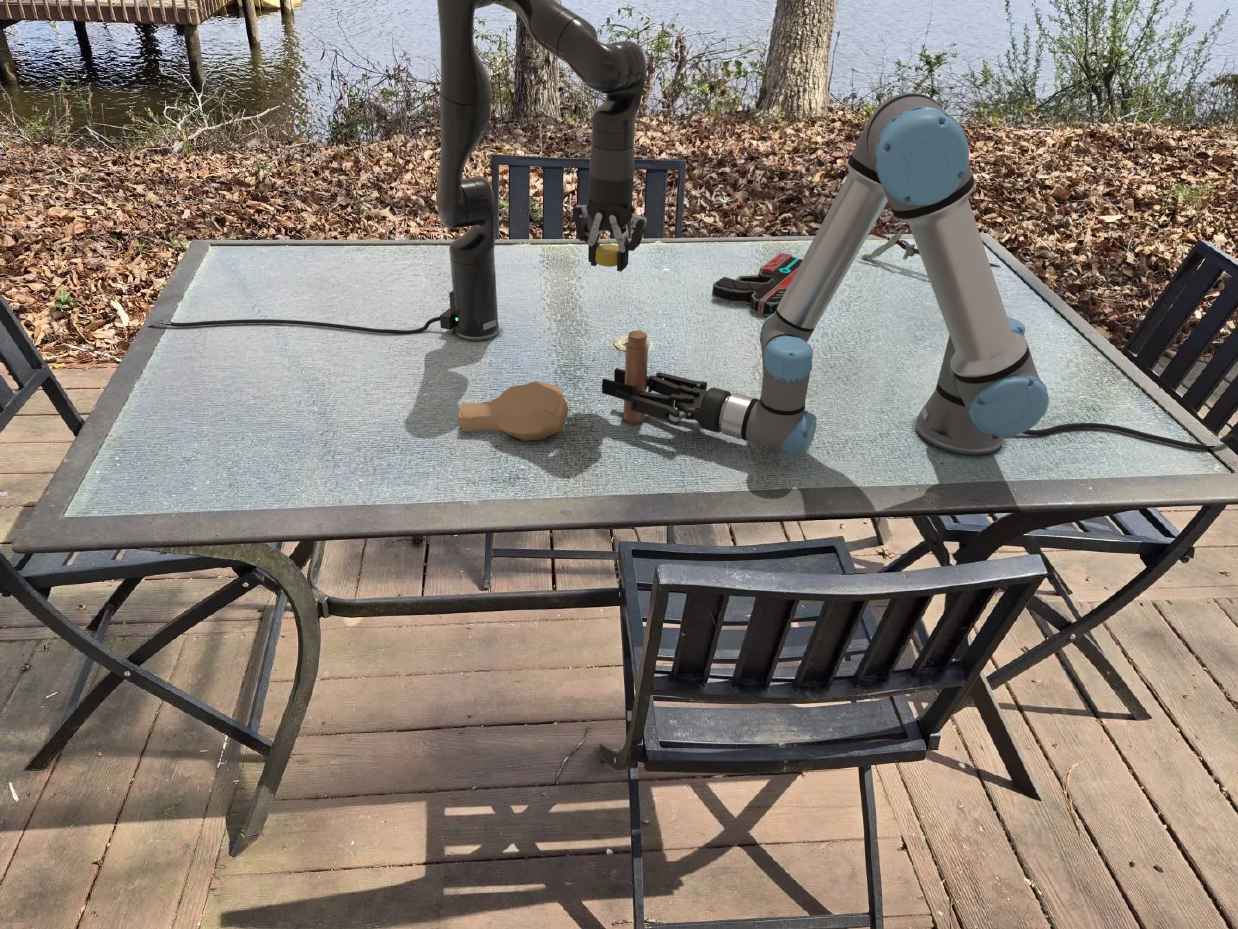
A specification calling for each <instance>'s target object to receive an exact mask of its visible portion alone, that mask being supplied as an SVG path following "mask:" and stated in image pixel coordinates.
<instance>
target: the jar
mask: <svg viewBox="0 0 1238 929" xmlns="http://www.w3.org/2000/svg"><path fill="white" fill-rule="evenodd" d="M627 338H628V339H627V340H628V341H627V342H626V344H625V361H624V364H625V365H624V370H625V384H626V385H630V386H633V387H637V391H644V392H647V390H646V384H647V376H648V363H649V362H648V361H649V344H648V343H647V339H648V334H647V332H645V331H642V330H632V331H630V332H628V335H627ZM623 419H624V421H625V422H628V423H631V424H638V423H639V424H640V423H642V422H644V421H645V420H646V414H643V413H639V412H636V411H633V410H631V402H630V401H626V400H623Z"/></svg>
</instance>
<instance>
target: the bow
mask: <svg viewBox="0 0 1238 929" xmlns="http://www.w3.org/2000/svg"><path fill="white" fill-rule="evenodd" d="M903 232H904V229H902V228H901V229H898V231H897V232H896V233H895V234H894V235H892V236H891V237H889V236H887V235H885V234H882V233H880V232H877V231H873V230H871V231H870V233H869V235H872V236H874V237H878V238H880V239H885V240H886V243H884V244H882V245H880V246H878V247H877V248H876V249H874V250H873V251H872V253H869V254H866V253H864V254H863V255H861V257H862V259H864V260H869V261H873V262H874V261H875V262H877V263H881V264H883V265H888V266H890V267H894V268H897V269H898V268H899V269H901V270H905V271H908V272H912V273H915V274H918V275H922V276H925V277H928V275H927V274H923V273H920V272H918V271H913V270H910V269H907V268H903V267H901V266H896V265H893V264H889V263H887V262H883V261H879V260H876V258H877V257H880V256H881V255H882V254H883V253H884V252H886V251H887V250H889V249H891V248H892V247H894V246H895V245H898V246H899V247H900V248H901V249H903V250H904V254H903V257H902V260H907V259H908V257H914V256H915V255H919V256H920V253H919V251H918V248H915V247H916V243H911V244H910V242H908V241H906V240H905V239H901V238H902V235H903ZM989 263H990V266H991V268H1002V266H1001V265H999V264H995V263H991V262H989Z"/></svg>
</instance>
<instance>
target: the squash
mask: <svg viewBox="0 0 1238 929" xmlns="http://www.w3.org/2000/svg"><path fill="white" fill-rule="evenodd" d="M569 409H570V408H569V405H568V404H567V402H566V399H565V397H564V395H563V393H562V389H561V387H560V386H557V385H554V384H550V383H548V382H544V381H537V380H535V381H531V382H528V383H525V384H520V385H515V386H509V387H508V388H507V389H506V390H504V391H502V393H501V394H500V395H499V396H498V397H496V398H494V399H493V400H490V401H484V402H483V401H482V402H476V403H474V402H463V403H460V404H459V413H458V420H457V426H458V427H460V429H461V430H462V431H463V432H464V433H465V432H475V431H486V430H487V431H488V430H492V431H498V432H504V433H506V434H508V435H509V436H511V437H514V438H516V439H519V440H521V441H523V442H524V441H525V442H526V441H541V440H544V439H546V438H549V437H550V436H552V435H554V434H557V433H559V432H561V431H562V430H563V428H564V426H565V424H566V421H567V418H568V413H569Z"/></svg>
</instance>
